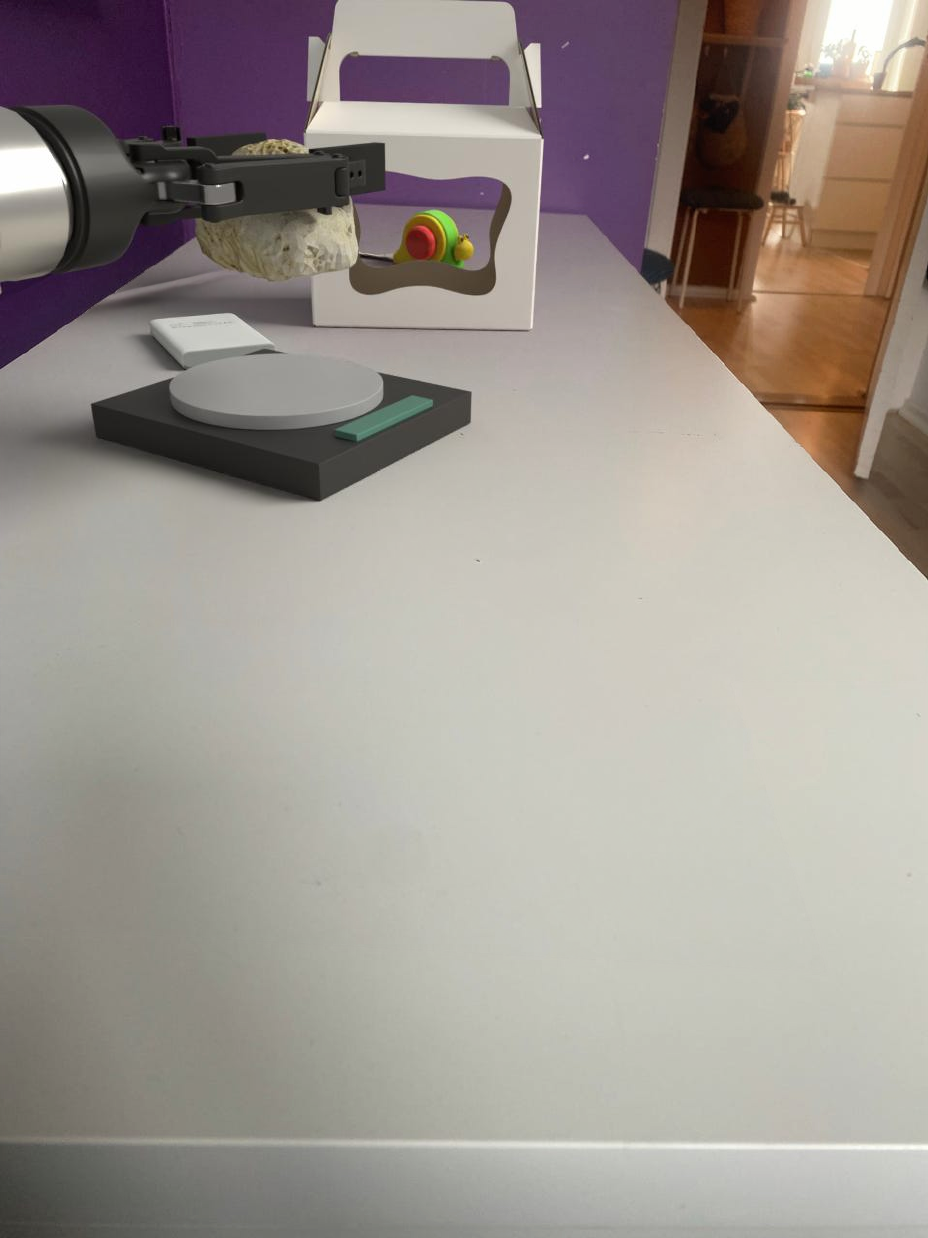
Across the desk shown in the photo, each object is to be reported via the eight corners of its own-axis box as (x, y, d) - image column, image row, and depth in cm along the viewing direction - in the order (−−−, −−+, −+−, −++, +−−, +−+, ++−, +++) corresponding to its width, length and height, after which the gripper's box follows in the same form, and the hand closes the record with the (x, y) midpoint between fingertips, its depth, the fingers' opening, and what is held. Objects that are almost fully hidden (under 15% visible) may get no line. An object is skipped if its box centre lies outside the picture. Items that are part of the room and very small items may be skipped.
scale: (95, 436, 70) (87, 389, 69) (266, 376, 84) (263, 336, 82) (320, 501, 62) (318, 448, 60) (470, 422, 75) (472, 377, 73)
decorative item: (174, 185, 66) (309, 117, 66) (241, 310, 70) (369, 246, 70) (156, 183, 55) (318, 102, 55) (236, 331, 59) (388, 255, 59)
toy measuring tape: (458, 275, 122) (459, 218, 119) (331, 256, 131) (329, 202, 127) (484, 268, 127) (486, 212, 124) (360, 250, 136) (359, 198, 132)
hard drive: (183, 371, 85) (150, 335, 94) (276, 360, 88) (235, 327, 98) (181, 351, 84) (148, 318, 93) (275, 342, 87) (234, 310, 97)
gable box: (524, 301, 111) (540, 5, 97) (534, 331, 100) (555, 0, 86) (322, 297, 110) (309, -2, 96) (310, 326, 99) (293, -8, 85)
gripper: (-93, 249, 55) (202, 205, 72) (199, 306, 45) (460, 240, 62) (-130, 94, 51) (191, 87, 68) (180, 120, 41) (463, 104, 58)
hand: (319, 160), depth 65 cm, fingers closed on decorative item, 9 cm apart
